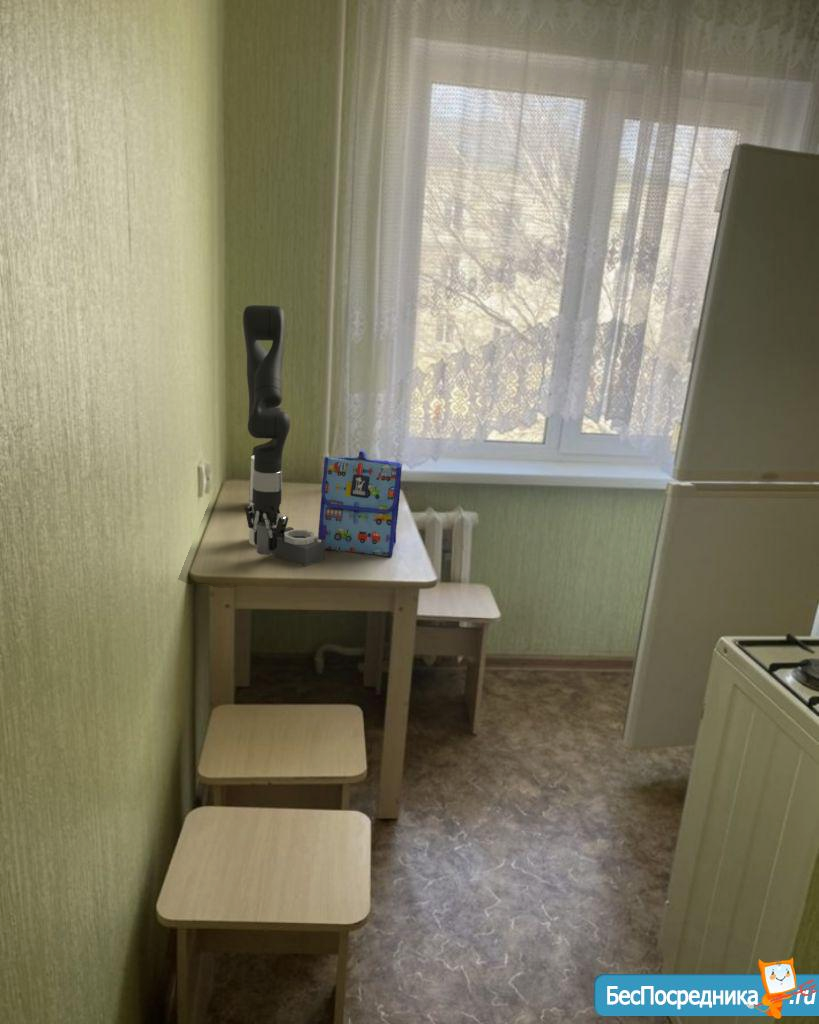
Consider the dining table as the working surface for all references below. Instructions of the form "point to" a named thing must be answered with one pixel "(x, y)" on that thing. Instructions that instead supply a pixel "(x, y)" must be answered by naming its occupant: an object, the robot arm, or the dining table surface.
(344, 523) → the lunch bag
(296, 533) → the camera body
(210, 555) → the dining table surface
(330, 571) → the dining table surface
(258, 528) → the lens
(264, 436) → the robot arm
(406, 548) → the dining table surface
